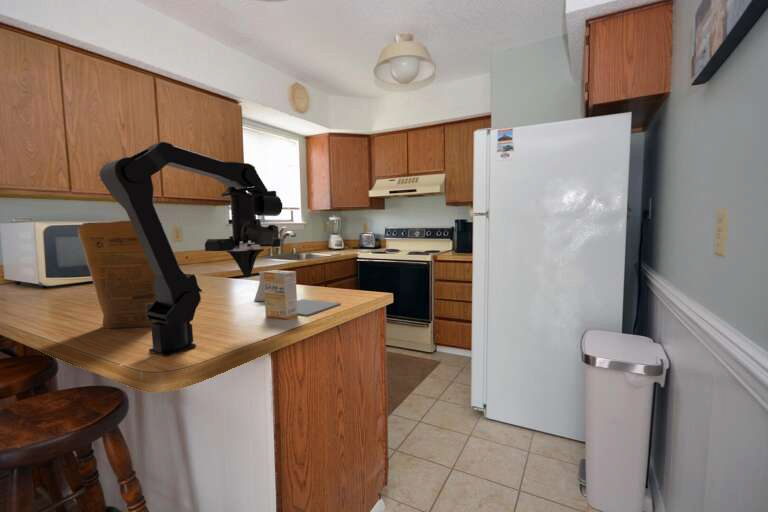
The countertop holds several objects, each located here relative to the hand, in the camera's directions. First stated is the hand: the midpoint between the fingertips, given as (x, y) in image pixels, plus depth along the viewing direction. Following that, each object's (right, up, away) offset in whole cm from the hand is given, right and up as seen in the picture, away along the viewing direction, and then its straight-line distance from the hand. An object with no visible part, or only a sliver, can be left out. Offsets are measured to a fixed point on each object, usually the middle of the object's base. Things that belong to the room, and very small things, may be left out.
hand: (247, 277), depth 88 cm
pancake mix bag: (-32, -14, +4) cm, 35 cm away
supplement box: (+6, -12, +11) cm, 17 cm away
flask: (-7, -10, +35) cm, 37 cm away
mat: (+10, -11, +21) cm, 25 cm away
